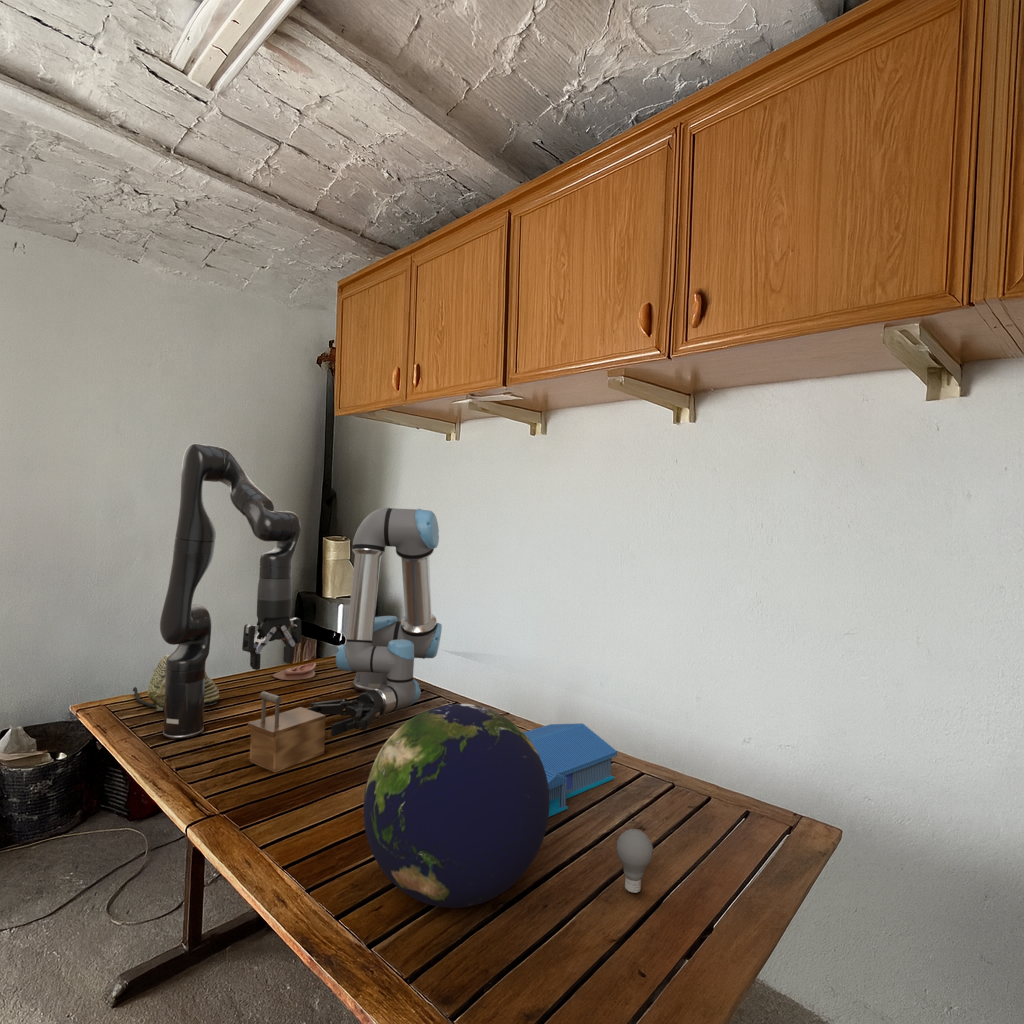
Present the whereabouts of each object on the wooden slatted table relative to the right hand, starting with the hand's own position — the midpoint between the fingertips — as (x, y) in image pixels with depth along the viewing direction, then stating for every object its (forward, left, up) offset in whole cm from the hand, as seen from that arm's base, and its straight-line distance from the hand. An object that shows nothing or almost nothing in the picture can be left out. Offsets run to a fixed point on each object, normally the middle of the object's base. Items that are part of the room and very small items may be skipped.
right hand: (313, 724), depth 158 cm
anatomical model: (-57, -35, -6) cm, 67 cm away
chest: (+6, -4, -6) cm, 9 cm away
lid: (+6, -4, +2) cm, 8 cm away
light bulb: (+41, +77, -6) cm, 88 cm away
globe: (+48, +48, -6) cm, 68 cm away
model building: (+8, +55, -6) cm, 56 cm away
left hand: (+11, -6, +17) cm, 21 cm away
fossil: (-20, -50, -6) cm, 54 cm away
